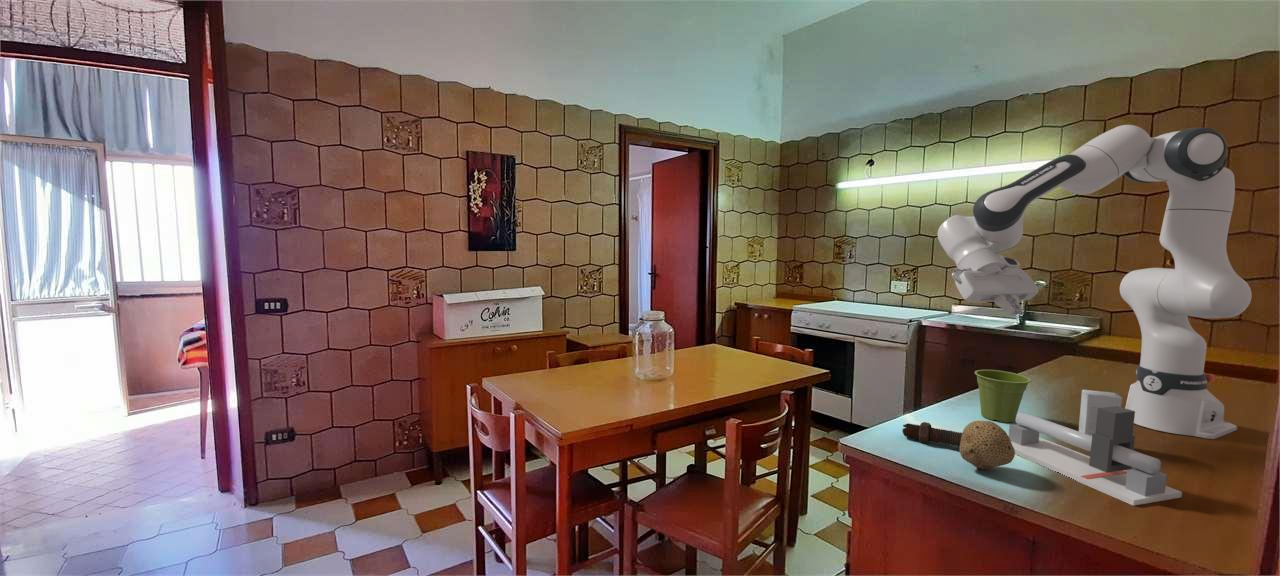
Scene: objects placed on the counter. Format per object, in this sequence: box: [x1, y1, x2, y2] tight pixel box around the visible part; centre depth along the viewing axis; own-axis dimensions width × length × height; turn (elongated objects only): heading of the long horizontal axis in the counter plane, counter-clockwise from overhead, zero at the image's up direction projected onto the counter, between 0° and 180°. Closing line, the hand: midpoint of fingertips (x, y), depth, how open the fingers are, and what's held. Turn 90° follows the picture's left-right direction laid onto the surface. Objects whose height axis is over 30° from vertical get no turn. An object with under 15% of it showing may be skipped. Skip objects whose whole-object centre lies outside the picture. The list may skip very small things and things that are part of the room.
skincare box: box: [1078, 389, 1123, 436], centre depth 117 cm, size 6×4×12 cm
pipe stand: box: [1008, 411, 1183, 506], centre depth 105 cm, size 27×12×8 cm, turn 15°
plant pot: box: [974, 369, 1032, 423], centre depth 134 cm, size 12×12×11 cm
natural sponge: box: [959, 420, 1016, 471], centre depth 104 cm, size 9×9×10 cm
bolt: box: [902, 421, 963, 448], centre depth 117 cm, size 6×5×15 cm
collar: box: [1089, 406, 1136, 473], centre depth 99 cm, size 3×6×11 cm, turn 105°
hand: (1016, 313), depth 123 cm, fingers closed
